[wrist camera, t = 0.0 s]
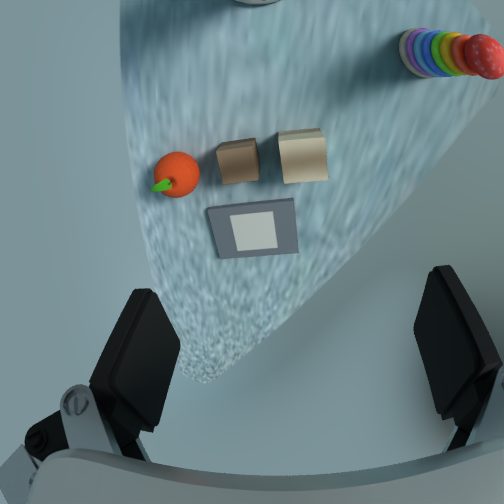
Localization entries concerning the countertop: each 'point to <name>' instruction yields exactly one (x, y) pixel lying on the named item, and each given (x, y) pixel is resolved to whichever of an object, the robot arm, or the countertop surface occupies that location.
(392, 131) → the countertop surface
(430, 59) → the stacking toy
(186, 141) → the countertop surface
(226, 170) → the walnut cube
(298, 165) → the maple cube
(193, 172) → the clementine
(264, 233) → the board
